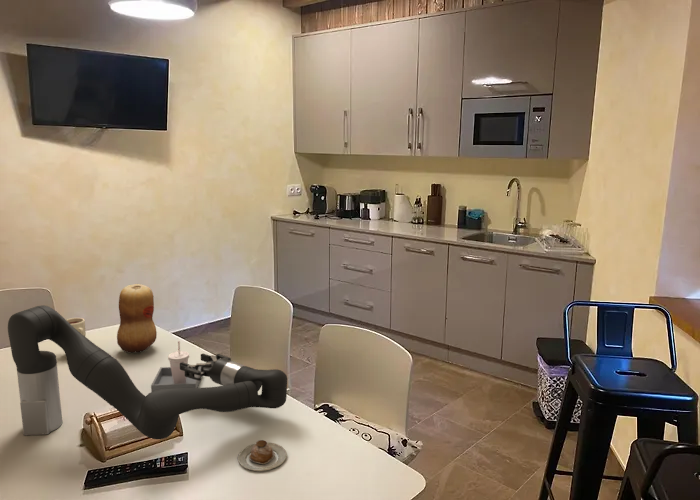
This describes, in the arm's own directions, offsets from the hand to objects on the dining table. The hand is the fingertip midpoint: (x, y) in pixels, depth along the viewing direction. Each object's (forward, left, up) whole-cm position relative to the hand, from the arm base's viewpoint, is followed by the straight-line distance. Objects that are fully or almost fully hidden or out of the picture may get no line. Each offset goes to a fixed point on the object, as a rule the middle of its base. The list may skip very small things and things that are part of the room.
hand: (191, 361), depth 166 cm
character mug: (+32, +46, -10) cm, 56 cm away
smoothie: (+3, +4, -9) cm, 10 cm away
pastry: (-39, -23, -11) cm, 46 cm away
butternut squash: (+34, +25, -10) cm, 43 cm away
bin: (+4, +5, -10) cm, 12 cm away
